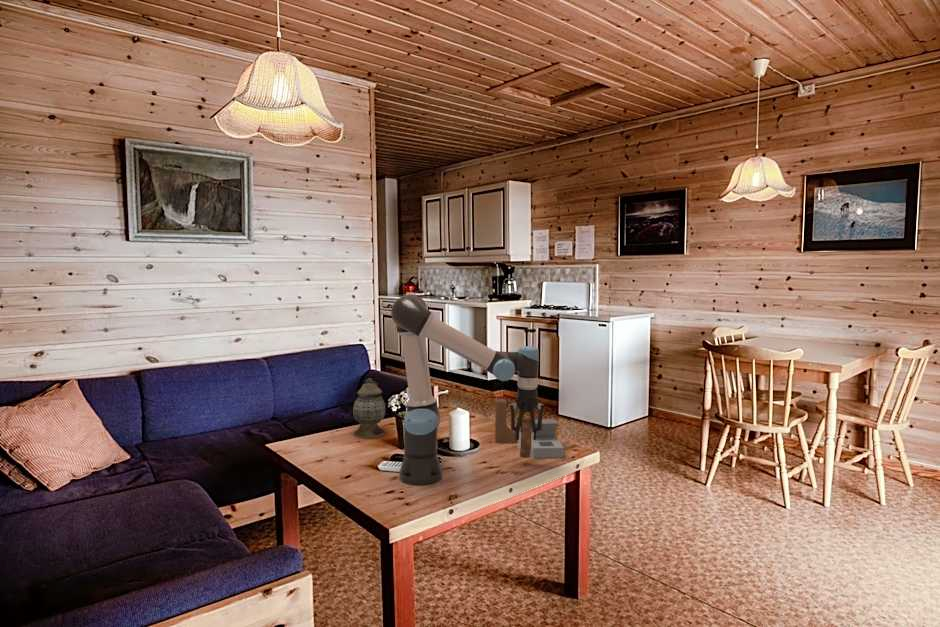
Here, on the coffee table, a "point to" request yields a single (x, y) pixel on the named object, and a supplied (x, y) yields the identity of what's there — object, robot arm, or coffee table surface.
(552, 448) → the socket block
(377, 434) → the lantern
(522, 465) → the coffee table surface
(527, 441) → the dowel
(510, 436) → the wooden block
